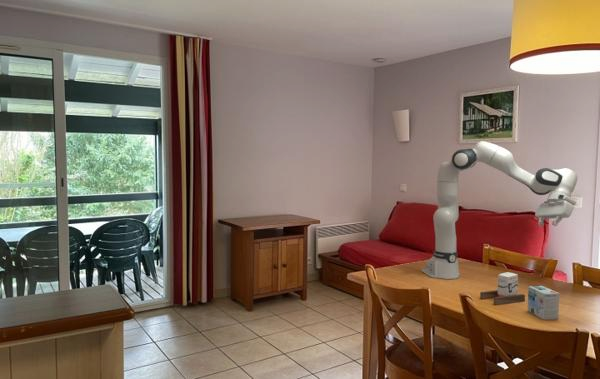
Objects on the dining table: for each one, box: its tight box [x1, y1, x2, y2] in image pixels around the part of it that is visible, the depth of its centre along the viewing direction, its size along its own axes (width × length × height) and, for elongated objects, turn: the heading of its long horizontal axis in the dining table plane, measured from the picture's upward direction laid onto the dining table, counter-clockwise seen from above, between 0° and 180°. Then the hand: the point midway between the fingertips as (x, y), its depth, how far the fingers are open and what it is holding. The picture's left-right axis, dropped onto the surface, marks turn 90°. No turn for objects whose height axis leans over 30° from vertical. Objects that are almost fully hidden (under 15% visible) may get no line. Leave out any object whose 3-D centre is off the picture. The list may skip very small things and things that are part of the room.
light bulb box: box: [527, 285, 560, 321], centre depth 176 cm, size 11×7×11 cm, turn 5°
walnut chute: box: [479, 289, 526, 306], centre depth 195 cm, size 10×16×3 cm, turn 108°
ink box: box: [497, 271, 519, 297], centre depth 196 cm, size 8×5×12 cm, turn 123°
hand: (547, 225), depth 204 cm, fingers open, 8 cm apart
